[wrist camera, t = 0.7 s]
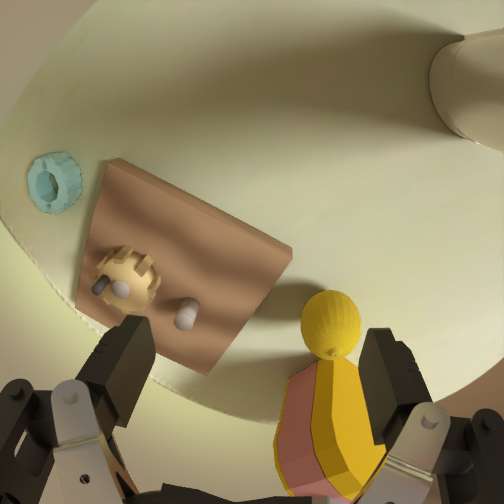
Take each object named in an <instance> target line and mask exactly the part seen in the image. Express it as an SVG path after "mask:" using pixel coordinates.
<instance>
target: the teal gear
mask: <svg viewBox="0 0 504 504" xmlns="http://www.w3.org/2000/svg"><path fill="white" fill-rule="evenodd" d="M50 174H53V175H54V176H55V179H56V181H57V184H58V186H59V189H58V192H57V191H55V190H54V189H53V186H52V184H51V181H50ZM80 174H81V170H80V167H79V165H77V166H76V163H75V161H74V160H73V159H71V158H70V155H69V154H67V153H66V152H62V153H60V152H57V153H55V154H54V152H53V153H50V154H47V155H45V156H42V157H40V158H38V159H37V160H35V161H34V165H33V166H31V169H30V171H28V175H27V180H29V181H28V188H29V190H30V192H29V195H30V198H31V200H34V202H35V205H36V206H38V207H39V208H40V211H42V212H43V213H45V214H46V213H49V214H52V213H55V215H56V214H58V213H60V212H62V211H63V210H65V209H66V208H68V207H69V206H71V205H73V204H74V201H75V200H77V198H78V196H79V195H81V192H82V188H83V187H82V186H81V182H82V179H81V176H80Z"/></svg>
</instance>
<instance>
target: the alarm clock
mask: <svg viewBox="0 0 504 504" xmlns="http://www.w3.org/2000/svg"><path fill="white" fill-rule="evenodd" d="M273 448H274V458H275V467H276V470H277V472H278V474H279V477H280V479H281V481H282V483H283V486H284V488H285V490H286V491H287V492H288V493H289V494H290V495H291V497H296V496H312V504H350V503H351V502H352V501H353V499H354V498H355V497H356V496H357V494H358V493H359V492H360V490H361V489H362V487H363V486H364V484H365V483H366V482H367V480H368V479H369V477H370V476H371V474H372V472H373V471H374V469H375V468H376V466H377V465H378V463H379V461H380V460H381V458H382V457H383V455H384V453H385V452H386V448H385V444H383V445H375V446H374V441H373V436H372V431H371V427H370V422H369V417H368V412H367V408H366V403H365V399H364V394H363V390H362V386H361V381H360V377H359V371H358V367H357V366H355V365H354V364H352V363H351V362H350V361H348V360H347V359H346V358H344V357H343V358H340V359H336V360H326V359H322V358H321V359H320V360H318V362H317V361H316V362H315V363H313V364H312V365H310V366H309V367H307V368H305V369H304V370H302V371H300V372H299V373H297V374H296V375H294V376H292V377H291V378H289V379H288V382H287V387H286V392H285V397H284V402H283V406H282V411H281V416H280V420H279V423H278V426H277V430H276V434H275V437H274V441H273Z"/></svg>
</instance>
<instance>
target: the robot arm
mask: <svg viewBox="0 0 504 504" xmlns="http://www.w3.org/2000/svg"><path fill="white" fill-rule="evenodd" d="M429 86H430V93H431V97H432V101H433V104H434V106H435V108H436V111H437V113H438V114H439V116H440V117H441V119H442V121H443V122H444V123H445V124H446V125H447V126H448V128H449V129H451V130H452V131H453V132H454V133H456V134H457V135H459V136H461V137H463V138H466V139H469V140H471V141H473V142H476V143H480V144H483V145H486V146H488V147H491V148H493V149H496V150H498V151H501V152H503V153H504V28H503V29H497V30H491V31H485V32H480V33H475V34H470V35H466V36H465V37H464V39H463V40H462V41H461V42H456V43H451V44H449V45H447V46H445V47H443V48H442V49H441V50H440V51H439V52H438V53H437V54H436V56H435V58H434V59H433V62H432V65H431V68H430V75H429ZM155 355H156V349H155V344H154V339H153V335H152V331H151V326H150V322H149V319H148V317H146V316H138V315H130V314H128V315H127V316H126V317H125V318H124V320H123V321H122V323H121V324H120V326H114V327H113V328H111V329H110V330H109V331H107V332H106V333H105V334H104V335H103V337H102V338H101V340H100V341H99V344H98V345H97V346H96V347H95V349H94V352H92V353H91V355H90V356H89V358H88V359H87V361H86V362H85V364H84V366H83V367H82V369H81V370H80V372H79V373H78V375H77V377H76V378H75V379H72V380H66V381H63V382H61V383H60V384H58V385H57V386H56V387H55V388H54V390H53V391H48V390H46V391H45V390H34V389H33V387H32V385H31V383H30V382H29V381H27V380H25V379H15V380H13V381H11V382H9V383H8V384H7V385H6V386H5V387H4V388H3V390H2V391H1V393H0V504H38V503H39V501H40V498H41V495H42V493H43V490H44V487H45V485H46V482H47V480H48V477H49V475H50V472H51V470H52V467H53V465H54V462H55V464H56V468H57V473H58V476H59V480H60V484H61V488H62V492H63V495H64V499H65V502H66V504H312V496H296V497H283V496H274V497H268V498H263V499H257V500H250V501H243V502H232V501H229V500H226V499H223V498H220V497H217V496H214V495H211V494H208V493H206V492H203V491H200V490H198V489H192V488H186V487H181V486H175V485H170V484H165V483H163V485H162V488H161V491H149V492H144V493H139V491H138V489H137V487H136V485H135V484H134V482H133V480H132V479H131V477H130V475H129V473H128V470H127V468H126V466H125V463H124V461H123V458H122V456H121V453H120V451H119V448H118V446H117V443H116V440H115V437H114V435H113V433H112V432H113V429H114V427H115V425H116V426H120V427H124V428H126V427H127V424H128V422H129V419H130V417H131V415H132V412H133V410H134V408H135V405H136V403H137V400H138V398H139V396H140V393H141V391H142V389H143V387H144V384H145V382H146V380H147V377H148V375H149V373H150V371H151V368H152V366H153V364H154V361H155ZM358 371H359V377H360V381H361V386H362V390H363V394H364V399H365V403H366V408H367V412H368V417H369V422H370V427H371V431H372V436H373V441H374V446H375V445H383V444H385V448H386V452H385V453H384V455H383V457H382V458H381V460H380V461H379V463H378V465H377V466H376V468H375V469H374V471H373V472H372V474H371V476H370V477H369V479H368V480H367V482H366V483H365V484H364V486H363V487H362V489H361V490H360V492H359V493H358V494H357V496H356V497H355V498H354V499H353V501H352V502H351V503H350V504H422V502H423V500H424V498H425V497H426V494H427V492H428V490H429V488H430V486H431V483H432V480H433V477H431V476H430V475H431V473H433V474H437V479H438V484H439V490H440V496H441V502H442V504H504V420H503V419H502V417H501V416H500V415H499V414H498V413H497V412H496V411H494V410H491V409H486V408H485V409H481V410H478V411H477V412H476V413H475V414H474V416H473V417H472V418H471V419H470V418H461V417H452V416H449V414H448V412H447V411H446V409H445V408H444V407H442V406H441V405H439V404H437V403H434V402H433V401H432V399H431V397H430V394H429V392H428V389H427V387H426V384H425V382H424V379H423V377H422V375H421V372H420V371H419V368H418V365H417V363H415V358H414V356H413V354H412V352H411V350H410V349H409V348H408V347H407V346H406V345H405V344H404V343H403V342H402V341H395V339H394V336H393V334H392V332H391V330H390V328H369V329H368V331H367V334H366V338H365V341H364V345H363V348H362V352H361V355H360V358H359V365H358ZM24 430H25V432H26V433H27V434H26V436H25V438H24V441H23V442H22V444H21V447H20V449H19V451H18V453H17V455H16V457H15V455H14V452H15V448H16V446H17V444H18V442H19V440H20V438H21V436H22V434H23V432H24Z"/></svg>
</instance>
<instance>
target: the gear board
mask: <svg viewBox="0 0 504 504" xmlns="http://www.w3.org/2000/svg"><path fill="white" fill-rule="evenodd" d="M292 259H293V257H292V248H291V247H289V246H288V245H286V244H284V243H282V242H280V241H278V240H276V239H275V238H273V237H271V236H269V235H267V234H265V233H263V232H262V231H260V230H258V229H256V228H254V227H252V226H250V225H248V224H246V223H245V222H243V221H241V220H239V219H237V218H235V217H233V216H231V215H229V214H227V213H226V212H224V211H222V210H220V209H218V208H216V207H214V206H212V205H210V204H208V203H206V202H205V201H203V200H201V199H199V198H197V197H195V196H193V195H191V194H189V193H187V192H185V191H183V190H181V189H179V188H177V187H175V186H173V185H171V184H170V183H168V182H166V181H164V180H162V179H160V178H158V177H156V176H154V175H152V174H150V173H148V172H146V171H144V170H142V169H140V168H138V167H136V166H134V165H132V164H130V163H128V162H126V161H124V160H122V159H120V158H118V159H116V160H114V161H112V162H110V163H108V166H107V169H106V172H105V175H104V178H103V182H102V185H101V188H100V192H99V195H98V199H97V203H96V206H95V210H94V214H93V218H92V222H91V226H90V230H89V234H88V239H87V243H86V248H85V253H84V257H83V263H82V268H81V273H80V279H79V285H78V291H77V297H76V304H75V308H76V309H77V310H79V311H81V312H82V313H84V314H86V315H87V316H89V317H91V318H92V319H94V320H96V321H98V322H99V323H101V324H103V325H105V326H106V327H108V328H110V329H111V328H113V327H114V326H120V324H121V323H122V321H123V320H124V318H125V317H126V316H127V315H128V314H130V315H138V316H146V317H148V319H149V322H150V326H151V331H152V335H153V339H154V344H155V349H156V353H158V354H160V355H162V356H164V357H166V358H168V359H170V360H172V361H174V362H177V363H179V364H181V365H183V366H185V367H188V368H190V369H192V370H194V371H197V372H199V373H201V374H203V375H206V376H207V375H208V373H209V372H210V371H211V369H212V368H213V367H214V365H215V364H216V363H217V361H218V360H219V359H220V357H221V356H222V355H223V353H224V352H225V351H226V350H227V348H228V347H229V346H230V344H231V343H232V342H233V340H234V339H235V337H236V336H237V335H238V333H239V332H240V331H241V329H242V328H243V327H244V325H245V324H246V323H247V321H248V320H249V319H250V317H251V316H252V314H253V313H254V312H255V310H256V309H257V308H258V306H259V305H260V304H261V302H262V301H263V299H264V298H265V297H266V295H267V294H268V292H269V291H270V290H271V288H272V287H273V286H274V284H275V283H276V281H277V280H278V279H279V277H280V276H281V274H282V273H283V272H284V270H285V269H286V267H287V266H288V264H289V263H290V262H291V260H292Z"/></svg>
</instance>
